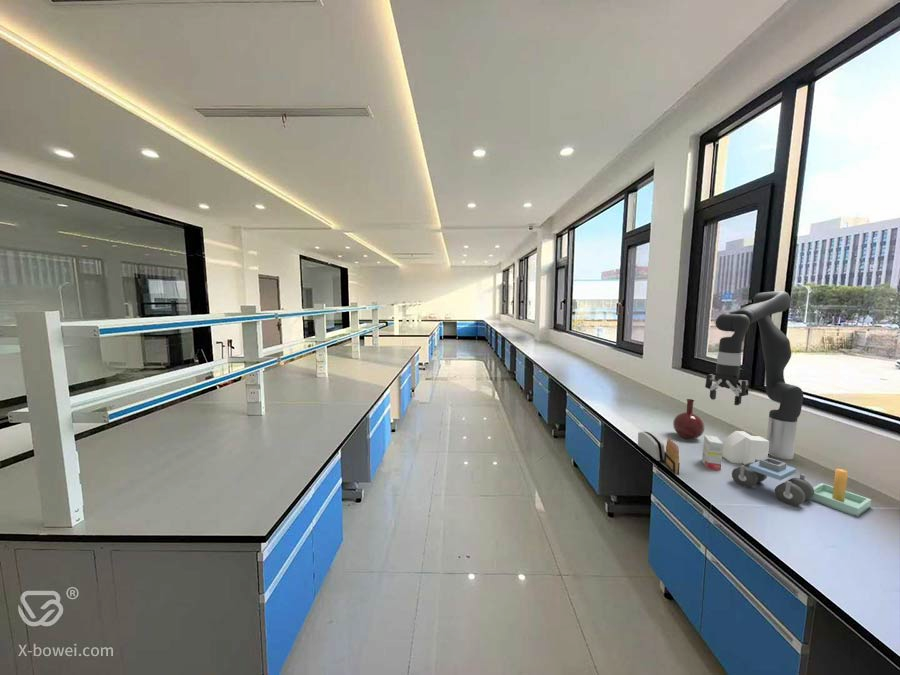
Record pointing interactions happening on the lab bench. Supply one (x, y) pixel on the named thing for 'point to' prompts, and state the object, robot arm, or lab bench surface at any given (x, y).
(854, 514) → the tray
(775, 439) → the robot arm
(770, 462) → the trolley
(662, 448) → the white rounded slab
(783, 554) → the lab bench surface
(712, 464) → the ink box
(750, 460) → the white faceted lump
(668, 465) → the ammunition clip
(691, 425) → the round-bottom flask
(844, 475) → the pin
